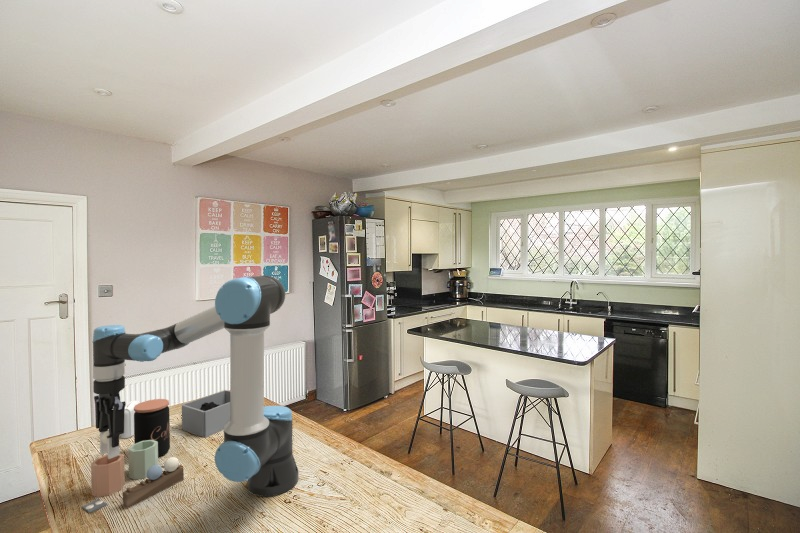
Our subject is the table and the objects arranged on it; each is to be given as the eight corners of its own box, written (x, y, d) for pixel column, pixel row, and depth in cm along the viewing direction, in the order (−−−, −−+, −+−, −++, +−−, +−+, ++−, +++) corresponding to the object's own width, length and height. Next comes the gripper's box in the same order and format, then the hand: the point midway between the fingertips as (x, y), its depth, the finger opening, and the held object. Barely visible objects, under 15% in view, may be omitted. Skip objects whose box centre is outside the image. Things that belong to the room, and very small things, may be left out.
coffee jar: (153, 463, 131) (152, 411, 130) (126, 460, 133) (125, 408, 132) (177, 448, 141) (176, 399, 141) (152, 445, 143) (151, 397, 143)
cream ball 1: (120, 442, 116) (120, 429, 116) (105, 448, 112) (105, 434, 112) (113, 439, 118) (113, 426, 118) (98, 444, 114) (98, 431, 114)
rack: (183, 479, 121) (183, 465, 121) (127, 508, 107) (126, 492, 107) (179, 477, 122) (178, 463, 122) (122, 506, 108) (122, 489, 108)
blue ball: (165, 477, 115) (165, 464, 115) (151, 484, 112) (151, 470, 112) (157, 473, 117) (157, 460, 117) (143, 480, 114) (143, 467, 114)
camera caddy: (249, 418, 167) (248, 395, 167) (204, 437, 149) (204, 412, 149) (225, 411, 175) (225, 389, 174) (181, 429, 157) (180, 404, 157)
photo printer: (131, 428, 158) (130, 398, 158) (142, 427, 159) (142, 397, 159) (118, 439, 148) (118, 407, 148) (131, 438, 149) (130, 406, 149)
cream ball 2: (181, 469, 120) (181, 456, 120) (168, 475, 116) (168, 462, 116) (174, 466, 122) (174, 453, 122) (161, 472, 118) (161, 459, 118)
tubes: (170, 474, 124) (169, 446, 124) (90, 513, 105) (89, 481, 105) (149, 464, 130) (149, 438, 130) (70, 499, 111) (69, 469, 111)
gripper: (138, 379, 114) (138, 456, 114) (109, 369, 122) (109, 442, 123) (109, 386, 107) (109, 468, 108) (80, 376, 115) (81, 452, 116)
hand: (109, 454), depth 115 cm, fingers closed on cream ball 1, 4 cm apart
